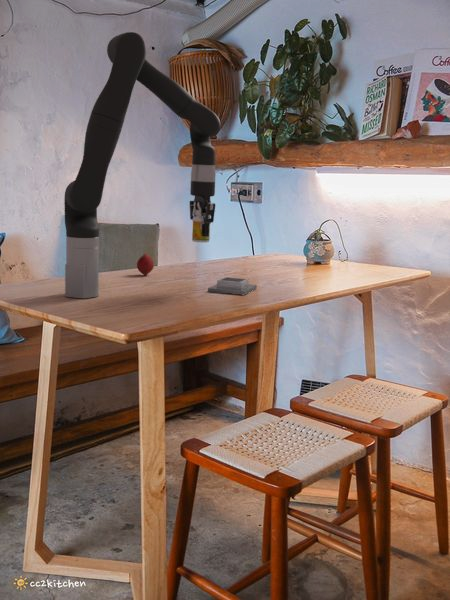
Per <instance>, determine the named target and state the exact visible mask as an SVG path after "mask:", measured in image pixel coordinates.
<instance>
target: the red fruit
mask: <svg viewBox="0 0 450 600" xmlns="http://www.w3.org/2000/svg"><path fill="white" fill-rule="evenodd" d="M148 254H149V253H147V252H145V253H144V254H143V255H142V256H141V257H139V259H138V260H137V263H136V268H137V270H138V271H139V272H140V274H142V275H143V276H147V275H149V274H150V273H151V272H152V271H153V270H154V266H155V263H154V261H153V258H151V256H149V255H148Z"/></svg>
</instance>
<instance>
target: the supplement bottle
mask: <svg viewBox="0 0 450 600" xmlns="http://www.w3.org/2000/svg"><path fill="white" fill-rule="evenodd" d="M204 214H205V213H204ZM195 215H196V217H194V218H193V220H192V234H191V235H192V238H191V240H192V242H194V243H200V244H201V243H209V242H210V238H211V237H210V236H211V235H210V234H211V233H210V232H211V224H209V236H202V219H201V217H200V215H199V210H196V212H195ZM204 218H205V217H204Z"/></svg>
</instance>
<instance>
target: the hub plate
mask: <svg viewBox="0 0 450 600" xmlns="http://www.w3.org/2000/svg"><path fill="white" fill-rule="evenodd" d="M257 286H258V285H257V284H250V280H249V278H242V277H241V278H240V277H229V276H223V277H221V278H219V279H217V280H216V283H215V284H214V285H211V286H210V287H208V288H207V293H214V292H215V293H217V294H224V293H232V294H231V295H235V294H244V295H243V296H246V295H248V294H249V292H250V293H252V292H253V291H255V290H257V289H256V288H257ZM254 289H255V290H254ZM252 290H253V291H252ZM251 291H252V292H251ZM247 293H248V294H247ZM245 294H246V295H245Z"/></svg>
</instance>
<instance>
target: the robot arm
mask: <svg viewBox="0 0 450 600" xmlns="http://www.w3.org/2000/svg"><path fill="white" fill-rule="evenodd" d="M147 52H148V51H147V43H146V41H145V40H144V38H143V36H142V35H141V34H139V33H137V32H133V31H132V32H131V31H128V32H124V33H121V34H118V35H115V36H114V37H112V38H111V39H110V40H109V42H108V44H107V47H106V53H107V56H108V58H109V60H110V62H111V63H112V64H111V65H112V66H111V69H110V73H109V77H108V79H107V81H106V83H105V85H104V86H103V89H102V90H101V92H100V93H99V94H98V97H97V98H96V101H95V102H94V105H93V107H92V110H91V113H90V115H89V119H88V123H87V125H86V130H85V138H84V145H83V157H82V161H81V164H80V167H79V169H78V172H77V176H76V178H75V180H73V181H71V182H70V183H69V184H67V186H66V189H65V191H64V198H63V199H64V204H63V205H64V225H65V236H66V239H65V240H66V243H65V244H66V245H65V246H66V247H65V248H66V249H65V252H66V253H65V261H66V262H65V264H64V276H65V277H64V285H65V286H64V297H68V298H77V299H88V298H96V297H99V287H100V285H99V284H100V283H99V281H100V279H99V278H100V277H99V276H100V275H99V274H100V270H99V269H100V268H99V267H100V266H99V265H100V263H99V261H100V258H99V257H100V255H99V253H100V227H99V224H98V209H97V208H98V207H99V206H100V204H101V201H102V198H103V191H104V188H105V183H106V177H107V173H108V170H109V166H110V164H111V160H112V159H113V157H114V152H115V149H116V147H117V144H118V142H119V139H120V135H121V132H122V129H123V126H124V123H125V119H126V115H127V112H128V109H129V105H130V102H131V97H132V94H133V91H134V87H135V84H136V82H139V83H140V84H141V85H142V86H144V87H145V88H146V89H147V90H148V91H150V92H151V93H152V94H153V95H155V96H156V98H158V99H159V100H160V101H162V103H163V104H165V105H166V107H168V109H170V110H171V111H172V112H173V113H174V114H175V115H176V116H178V118H181V119H183V120H187V121H188V122H189V137H190V142H191V143H190V144H191V147H192V148H191V149H192V163H191V164H192V165H191V170H190V171H191V172H190V189H189V190H190V195H191V196H194V199H193V200H189V218H190V220H192V221H193V218H194V217H196V215H195V212H196V210H199V215H200V217H201V219H202V236H209V224H210V225H211V223H212V224H213V223H214V219H215V212H216V203H214V202H212V201H211V197H215V195H216V194H215V193H216V176H217V175H216V174H217V173H216V149H215V147H214V146H213V145H212V143H211V137H214V136H216V135H218V133H219V132H220V130H221V121H220V118H219V117H218V115H217V114H216V113H215V112H214V111H213V110H211V109H210V108H209V107H207V106H205V105H204V104H203V103H201V102H200V101H198V100H197V99H195V98H194V97H193V96H192V95H191V94H190V93H189V92H188V91H187V89H185V88H184V87H183V86H182V85H181V84H179V83H178V82H177V81H175V80H174V79H173V78H171V77H169V76H168V75H166V74H165V73H163V72H162V71H160V70H159V69H158V68H156V67H155V66H154V65H153V64H152V63H150V62H149V61H148V59H146V58H147ZM204 213H205V214H204ZM204 217H205V218H204Z"/></svg>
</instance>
